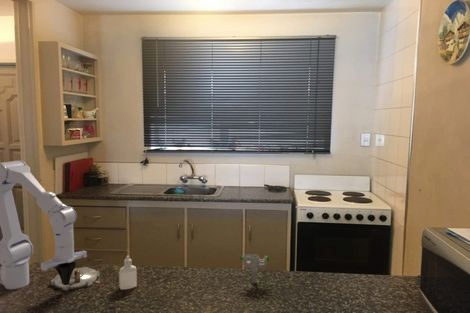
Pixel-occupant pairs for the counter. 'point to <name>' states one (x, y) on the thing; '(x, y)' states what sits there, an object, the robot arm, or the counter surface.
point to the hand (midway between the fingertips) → (65, 283)
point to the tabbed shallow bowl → (77, 278)
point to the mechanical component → (254, 263)
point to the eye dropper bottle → (128, 275)
